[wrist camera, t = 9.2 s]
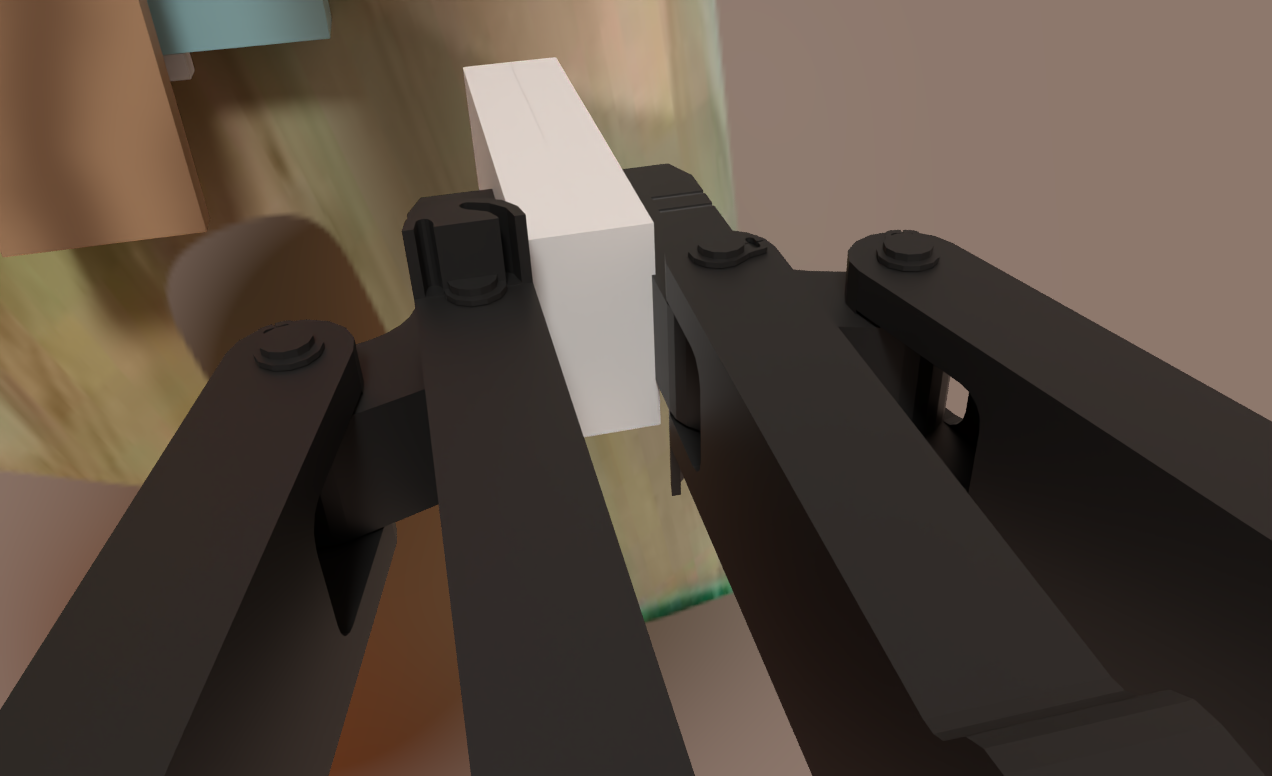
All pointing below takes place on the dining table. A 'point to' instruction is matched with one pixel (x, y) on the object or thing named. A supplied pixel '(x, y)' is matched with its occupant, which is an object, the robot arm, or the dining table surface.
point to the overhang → (91, 129)
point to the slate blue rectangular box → (237, 23)
